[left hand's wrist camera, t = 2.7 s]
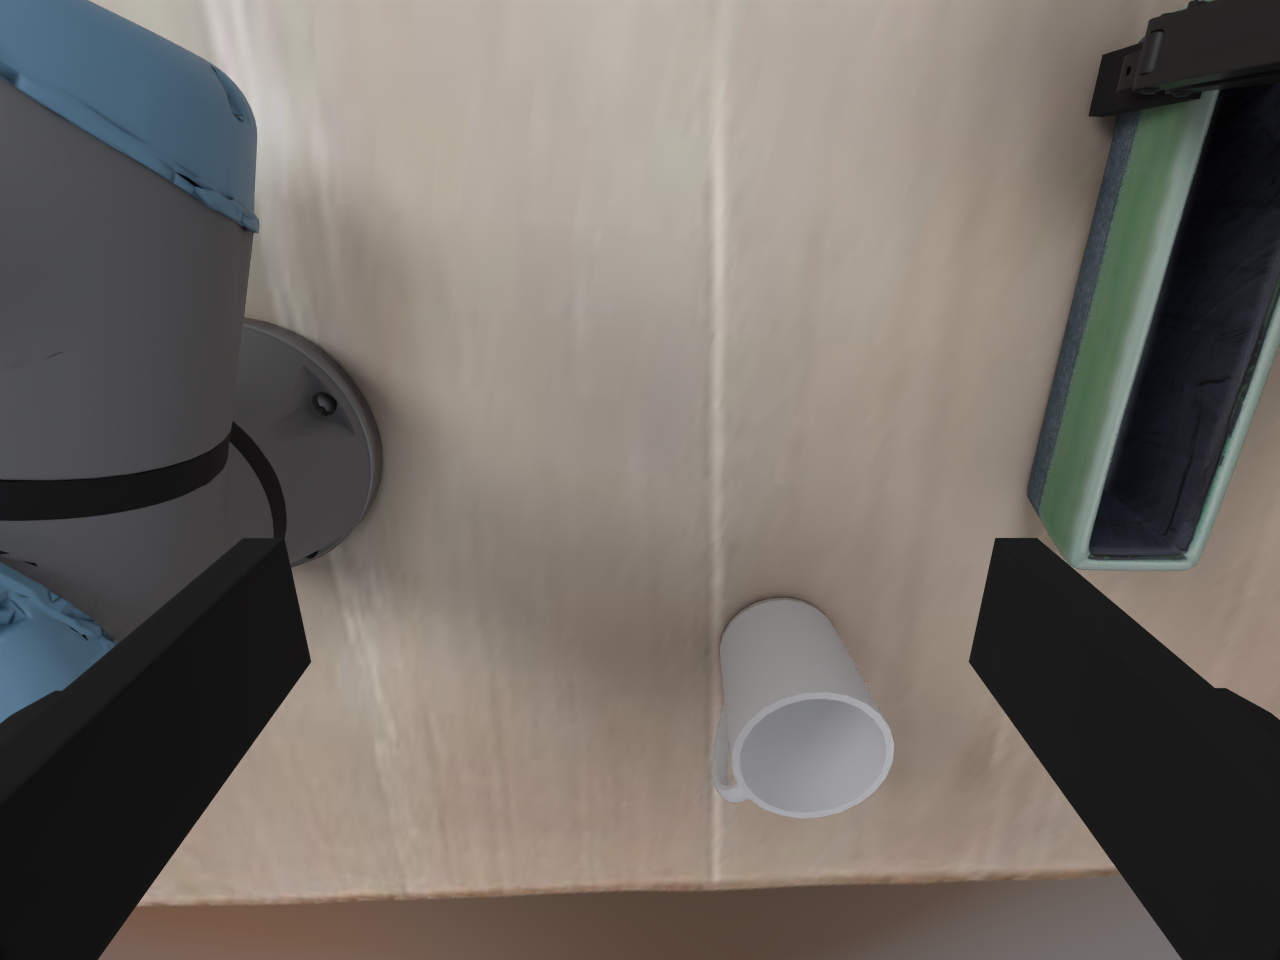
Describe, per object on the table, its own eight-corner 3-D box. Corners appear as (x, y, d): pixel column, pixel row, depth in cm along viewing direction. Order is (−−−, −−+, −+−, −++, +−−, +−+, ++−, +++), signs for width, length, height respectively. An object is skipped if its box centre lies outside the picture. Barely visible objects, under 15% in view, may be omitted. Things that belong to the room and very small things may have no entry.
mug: (789, 565, 45) (831, 662, 36) (868, 650, 48) (926, 762, 38) (662, 658, 48) (669, 772, 38) (743, 734, 50) (768, 859, 41)
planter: (1114, 517, 44) (1199, 573, 37) (1002, 515, 44) (1067, 572, 37) (1268, 8, 34) (1423, -40, 27) (1122, 5, 34) (1241, -44, 27)
